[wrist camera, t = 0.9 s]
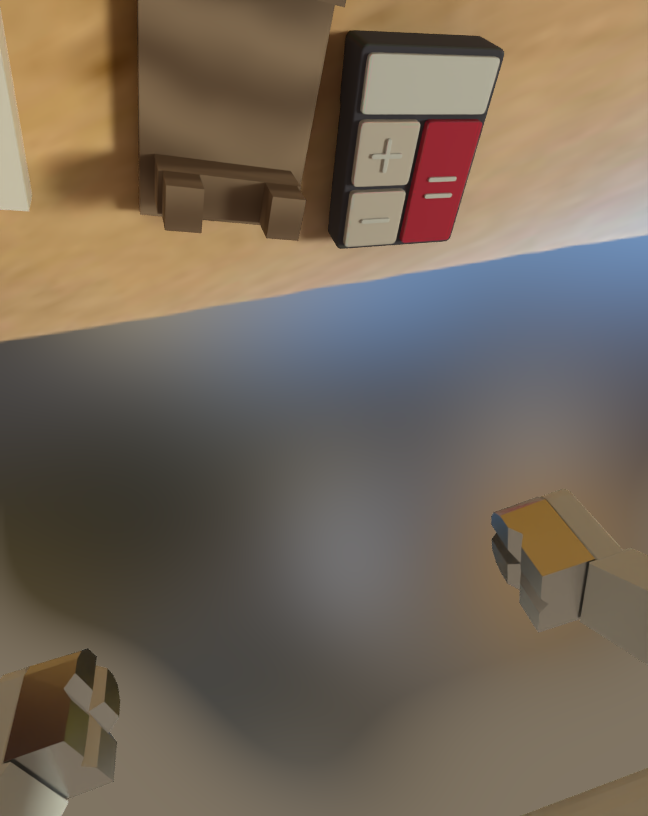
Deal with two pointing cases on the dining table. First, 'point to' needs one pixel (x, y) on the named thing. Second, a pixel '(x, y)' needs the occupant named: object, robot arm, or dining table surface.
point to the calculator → (407, 134)
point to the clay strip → (11, 141)
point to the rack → (228, 109)
